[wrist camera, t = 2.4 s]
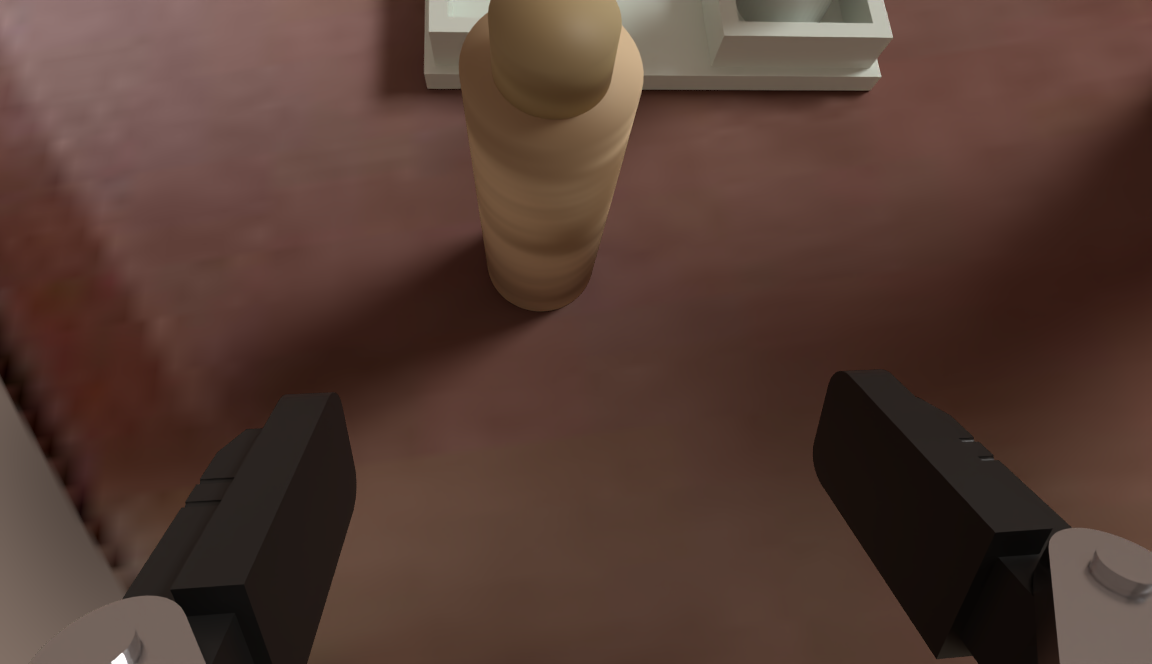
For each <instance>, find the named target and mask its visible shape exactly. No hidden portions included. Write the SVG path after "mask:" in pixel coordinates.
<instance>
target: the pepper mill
mask: <svg viewBox="0 0 1152 664" xmlns="http://www.w3.org/2000/svg"><path fill="white" fill-rule="evenodd" d="M459 77H460V84H461V91H462V98H463V105H464V111H465V118H466V125H467V132H468V139H469V145H470V152H471V159H472V166H473V172H474V179H475V186H476V193H477V200H478V206H479V213H480V220H481V227H482V234H483V240H484V247H485V254H486V261H487V267H488V273H489V276H490V279H491V281H492V283H493V285H494V287H495V288H496V290H497V291H498V292H499V293H500V294H501V295H502V296H503V297H504V298H505V299H506V300H507V301H509V302H510V303H512V304H514V305H516V306H518V307H520V308H523V309H526V310H531V311H551V310H555V309H559V308H562V307H564V306H566V305H568V304H569V303H571V302H573V301H574V300H575V299H576V298H577V297H579V295H580V294H581V293H582V292H583V291H584V289H585V288H586V286H587V284H588V282H589V280H590V277H591V274H592V270H593V267H594V263H595V259H596V256H597V252H598V248H599V245H600V241H601V237H602V234H603V230H604V227H605V223H606V219H607V216H608V212H609V208H610V205H611V201H612V198H613V194H614V190H615V187H616V183H617V179H618V176H619V172H620V169H621V165H622V161H623V158H624V154H625V150H626V147H627V143H628V139H629V136H630V132H631V129H632V125H633V121H634V118H635V114H636V110H637V107H638V103H639V100H640V96H641V92H642V87H643V77H644V71H643V64H642V59H641V56H640V53H639V50H638V48H637V46H636V44H635V42H634V40H633V39H632V37H631V36H630V34H629V33H628V32H627V30H626V29H625V28H624V27H623V26H622V18H621V12H620V9H619V6H618V4H617V2H616V0H490V4H489V8H488V13H486V14H485V15H484V16H483V17H482V18H480V19H479V20H478V22H477V23H476V24H475V25H474V26H473V27H472V29H471V30H470V32H469V33H468V35H467V36H466V39H465V41H464V43H463V45H462V49H461V52H460V57H459Z"/></svg>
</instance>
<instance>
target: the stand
mask: <svg viewBox="0 0 1152 664" xmlns="http://www.w3.org/2000/svg"><path fill="white" fill-rule="evenodd" d="M616 2H617V4H618V6H619V9H620V12H621V18H622V26H623V27H624V28H625V29H626V30H627V32H628V33H629V34H630V36H631V37H632V39H633V40H634V42H635V44H636V46H637V48H638V50H639V53H640V56H641V59H642V64H643V71H644V77H643V87H642V90H855V91H870V90H871V89H872V88H873V87H874V85H875V84H876V83H877V82H878V80H879V79H880V78H881V74H880V70H879V65H878V61H877V58H878V57H879V55H880V54H881V53H882V51H883V50H884V49H885V48H886V46H887V45H888V44H889V42H890V41H891V40H892V38H893V35H892V31H891V28H890V24H889V20H888V16H887V12H886V8H885V4H884V0H833V2H832V3H831V5H830V7H829V8H828V10H827V12H826V13H825V15H824V17H823V18H822V20H821V22H820V23H817V22H751V21H745V20H744V19H743V18H742V16H741V15H740V13H739V11H738V9H737V6H736V0H616ZM489 4H490V0H425V39H424V76H425V81H426V85H427V89H461V84H460V77H459V57H460V52H461V49H462V45H463V43H464V41H465V39H466V36H467V35H468V33H469V32H470V30H471V29H472V27H473V26H474V25H475V24H476V23H477V22H478V20H479V19H480V18H482V17H483V16H484V15H485V14H486V13H488V8H489Z"/></svg>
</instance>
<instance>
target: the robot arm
mask: <svg viewBox="0 0 1152 664" xmlns="http://www.w3.org/2000/svg"><path fill="white" fill-rule="evenodd" d="M993 456H994V455H993V454H991V453H990V452H989V451H988V450H987V449H986V448H985V447H984V446H983V445H982V444H981V443H980V442H974V437H973V436H972V435H971V434H970V433H969V432H968V431H967V430H965V429H964V428H963V427H962V426H961V425H960V424H959V423H958V422H957V421H956V420H955V419H954V418H952V417H951V416H950V415H949V414H947V413H945V412H943V411H941V410H940V409H938V408H936V407H934V406H933V405H931V404H929V403H927V402H925V401H924V400H922V399H920V398H918V397H917V398H916V397H915V396H914V395H913V394H912V393H911V392H910V391H909V390H908V389H907V388H906V387H904V386H903V385H902V384H901V383H900V382H899V381H898V380H897V379H896V378H895V377H894V376H893V375H892V374H891V373H889V372H888V371H886V370H883V369H877V370H855V371H838V372H836V373H835V374H834V375H833V376H832V377H831V379H830V382H829V385H828V389H827V393H826V397H825V401H824V405H823V409H822V413H821V417H820V421H819V425H818V429H817V433H816V437H815V441H814V446H813V462H814V467H815V471H816V474H817V477H818V479H819V481H820V483H821V484H822V486H823V488H824V489H825V491H826V492H827V494H828V495H829V497H830V498H831V500H832V501H833V503H834V504H835V506H836V507H837V509H838V510H839V512H840V513H841V515H842V516H843V518H844V519H845V521H846V522H847V524H848V525H849V527H850V529H851V530H852V532H853V533H854V535H855V536H856V538H857V539H858V541H859V542H860V544H861V545H862V547H863V548H864V550H865V551H866V553H867V554H868V556H869V557H870V559H871V560H872V562H873V563H874V565H875V566H876V568H877V570H878V571H879V573H880V574H881V576H882V577H883V579H884V580H885V582H886V583H887V585H888V586H889V588H890V589H891V591H892V592H893V594H894V595H895V597H896V598H897V600H898V601H899V603H900V604H901V606H902V608H903V609H904V611H905V612H906V614H907V615H908V617H909V618H910V620H911V621H912V623H913V624H914V626H915V627H916V629H917V630H918V632H919V633H920V635H921V636H922V638H923V639H924V641H925V642H926V644H927V645H928V647H929V649H930V650H931V652H932V653H933V655H934V656H935V658H936V659H943V658H954V657H964V656H973V657H974V658H975V660H976V661H977V662H978V664H1152V552H1151V551H1149V550H1147V549H1145V548H1143V547H1141V546H1140V545H1138V544H1135V543H1133V542H1131V541H1129V540H1126V539H1124V538H1121V537H1119V536H1116V535H1113V534H1110V533H1106V532H1103V531H1098V530H1093V529H1086V528H1072V527H1071V526H1069V525H1068V524H1067V523H1066V522H1065V521H1064V520H1063V519H1062V518H1061V517H1060V516H1059V515H1058V514H1056V513H1055V512H1054V511H1053V510H1052V509H1051V508H1050V507H1049V506H1048V505H1047V504H1046V503H1045V502H1043V501H1042V500H1041V499H1040V498H1039V497H1038V496H1037V495H1036V494H1035V493H1034V492H1033V491H1032V490H1030V489H1029V488H1028V487H1027V486H1026V485H1025V484H1024V483H1023V482H1022V481H1021V480H1020V479H1019V478H1017V477H1016V476H1015V475H1014V474H1013V473H1012V472H1011V471H1010V470H1009V469H1008V468H1007V467H1006V466H1004V465H1003V464H1002V463H1001V462H1000V461H999V460H994V458H993ZM355 499H356V471H355V466H354V461H353V456H352V451H351V446H350V441H349V437H348V432H347V427H346V422H345V417H344V412H343V407H342V403H341V400H340V398H339V396H338V394H337V393H334V392H332V393H309V394H287V395H283V396H282V397H281V398H280V400H279V401H278V403H277V405H276V406H275V408H274V410H273V412H272V413H271V415H270V417H269V419H268V420H267V422H266V424H265V426H264V427H263V428H260V429H246V430H245V431H244V432H242V433H241V434H240V435H239V436H237V437H236V438H235V439H234V440H232V441H231V442H230V443H228V444H227V445H226V446H225V447H223V448H222V449H221V450H220V451H218V452H217V454H216V455H215V457H214V458H213V460H212V461H211V463H210V464H209V466H208V468H207V469H206V471H205V472H204V474H203V475H202V477H201V478H200V484H197V485H196V486H195V488H194V489H193V491H192V492H191V494H190V495H189V497H188V498H187V500H186V502H185V503H186V505H185V508H181V509H180V511H179V512H178V514H177V515H176V517H175V519H174V520H173V522H172V523H171V525H170V526H169V528H168V529H167V531H166V532H165V534H164V536H163V537H162V539H161V540H160V542H159V543H158V545H157V546H156V548H155V549H154V551H153V552H152V554H151V556H150V557H149V559H148V560H147V562H146V563H145V565H144V566H143V568H142V569H141V571H140V573H139V574H138V576H137V577H136V579H135V580H134V582H133V583H132V585H131V586H130V588H129V590H128V591H127V593H126V594H125V596H124V597H123V599H122V600H119V601H116V602H113V603H110V604H107V605H104V606H102V607H100V608H98V609H95V610H94V611H91V612H89V613H88V614H86V615H84V616H82V617H81V618H79V619H77V620H76V621H74V622H72V623H71V624H70V625H68V626H66V627H65V628H64V629H62V630H61V631H60V632H59V633H57V634H56V635H55V636H54V637H53V638H51V640H49V641H48V642H47V643H46V644H45V645H44V646H43V647H42V648H41V649H40V650H39V651H38V652H37V654H36V655H35V656H34V657H33V658H32V659H31V661H30V662H29V664H307V662H308V658H309V655H310V652H311V648H312V645H313V642H314V639H315V635H316V632H317V629H318V625H319V622H320V619H321V615H322V612H323V609H324V606H325V602H326V599H327V596H328V592H329V589H330V586H331V582H332V579H333V576H334V573H335V569H336V566H337V563H338V559H339V556H340V553H341V550H342V546H343V543H344V540H345V536H346V533H347V530H348V526H349V523H350V520H351V517H352V513H353V510H354V505H355Z"/></svg>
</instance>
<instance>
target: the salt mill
mask: <svg viewBox="0 0 1152 664" xmlns="http://www.w3.org/2000/svg"><path fill="white" fill-rule="evenodd" d="M832 2H833V0H736V6H737V9H738V11H739V13H740V15H741V16H742V18H743V19H744V20H745V21H751V22H817V23H820V22H821V20H822V18H823V17H824V15H825V13H826V12H827V10H828V8H829V7H830V5H831V3H832Z"/></svg>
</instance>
